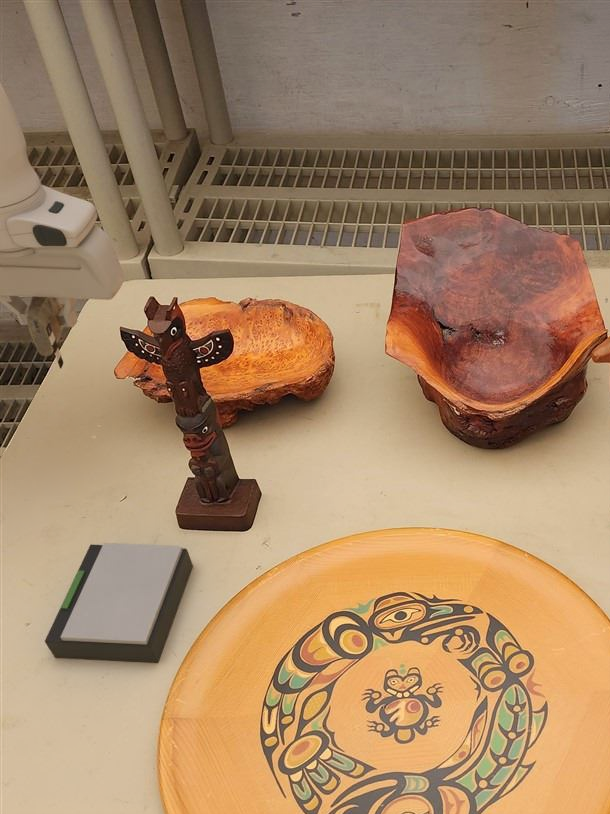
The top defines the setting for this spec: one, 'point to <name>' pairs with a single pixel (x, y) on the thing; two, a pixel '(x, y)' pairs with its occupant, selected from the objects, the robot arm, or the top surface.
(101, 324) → the top surface
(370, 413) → the top surface
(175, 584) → the scale
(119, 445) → the top surface
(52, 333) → the brown stone with scale
